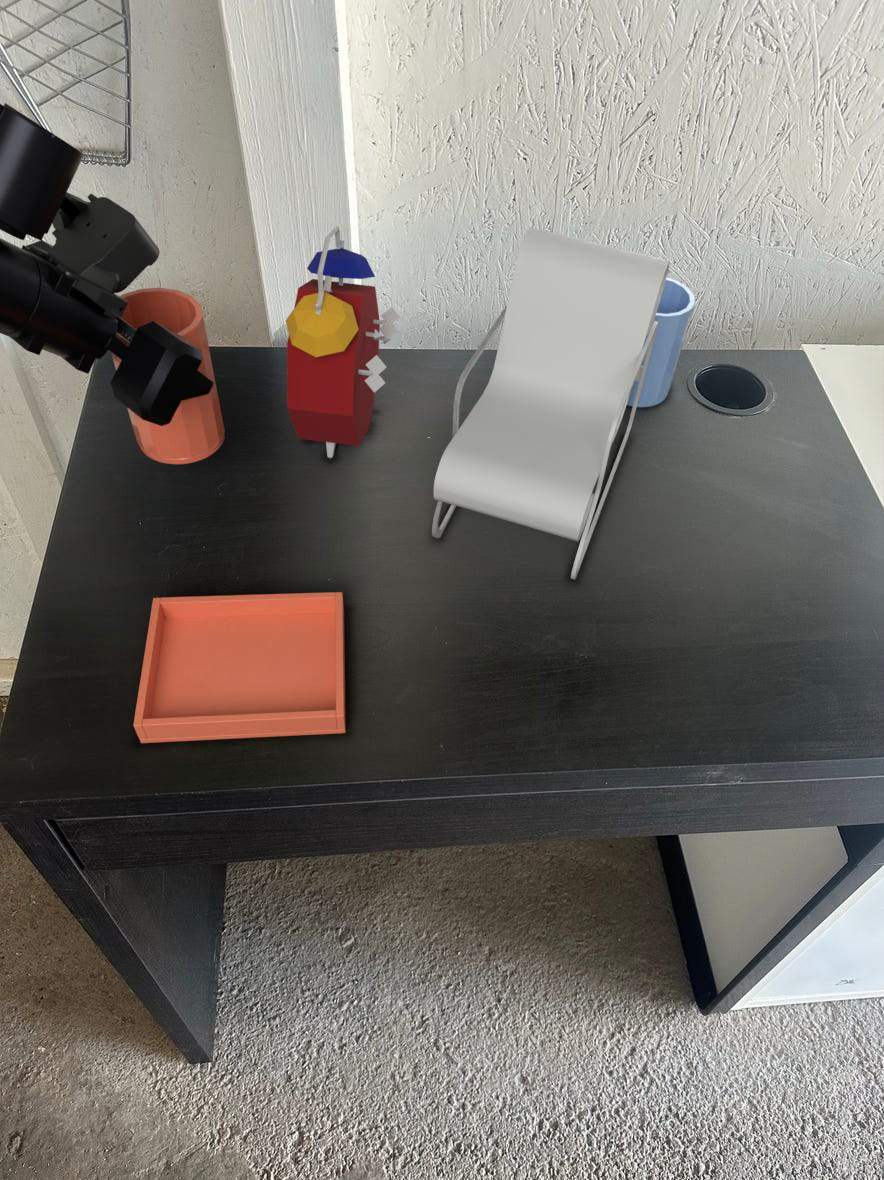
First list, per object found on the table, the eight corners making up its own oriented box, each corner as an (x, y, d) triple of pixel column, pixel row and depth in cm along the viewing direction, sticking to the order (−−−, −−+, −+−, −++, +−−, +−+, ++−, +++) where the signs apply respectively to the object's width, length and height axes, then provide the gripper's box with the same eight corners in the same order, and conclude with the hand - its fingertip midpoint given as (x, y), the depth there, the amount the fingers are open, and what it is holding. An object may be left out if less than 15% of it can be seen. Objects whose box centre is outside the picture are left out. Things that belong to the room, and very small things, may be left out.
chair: (631, 429, 93) (678, 250, 77) (569, 596, 78) (611, 417, 63) (510, 396, 95) (532, 215, 79) (427, 553, 80) (433, 369, 65)
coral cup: (161, 476, 75) (127, 353, 65) (123, 428, 78) (86, 304, 69) (240, 444, 78) (219, 323, 68) (200, 400, 81) (175, 278, 72)
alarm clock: (324, 377, 94) (309, 188, 79) (404, 387, 94) (405, 200, 79) (292, 470, 85) (269, 278, 70) (381, 481, 85) (377, 291, 70)
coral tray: (140, 743, 66) (132, 725, 64) (159, 616, 74) (153, 597, 72) (345, 733, 68) (343, 715, 66) (344, 610, 75) (342, 591, 73)
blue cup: (637, 416, 94) (661, 324, 86) (587, 381, 97) (606, 289, 89) (681, 390, 98) (709, 299, 89) (632, 357, 101) (654, 267, 92)
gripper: (148, 236, 54) (302, 328, 68) (-14, 128, 61) (157, 232, 75) (70, 396, 56) (234, 453, 71) (-78, 275, 63) (99, 349, 77)
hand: (180, 366), depth 73 cm, fingers closed on coral cup, 7 cm apart
